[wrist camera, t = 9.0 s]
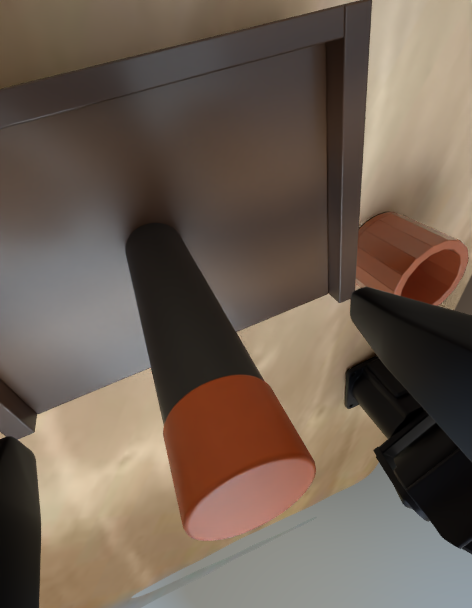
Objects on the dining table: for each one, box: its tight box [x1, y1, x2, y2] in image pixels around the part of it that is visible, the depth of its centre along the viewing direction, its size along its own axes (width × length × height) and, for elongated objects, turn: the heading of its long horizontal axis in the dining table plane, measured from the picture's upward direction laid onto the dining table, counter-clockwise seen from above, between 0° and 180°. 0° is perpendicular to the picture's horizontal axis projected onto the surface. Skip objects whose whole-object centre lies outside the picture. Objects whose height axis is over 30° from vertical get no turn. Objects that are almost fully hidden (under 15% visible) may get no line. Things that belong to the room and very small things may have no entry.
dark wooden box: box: [0, 0, 372, 440], centre depth 14 cm, size 12×18×6 cm, turn 101°
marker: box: [125, 223, 316, 541], centre depth 9 cm, size 2×2×10 cm
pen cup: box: [355, 212, 469, 306], centre depth 22 cm, size 6×6×5 cm
